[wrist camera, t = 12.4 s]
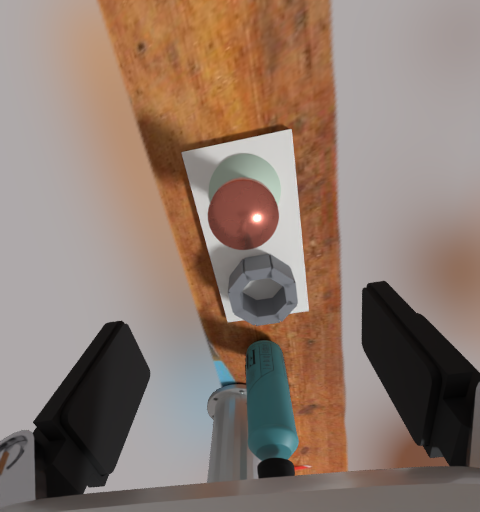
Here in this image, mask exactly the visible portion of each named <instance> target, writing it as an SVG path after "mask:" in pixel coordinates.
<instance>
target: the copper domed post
mask: <svg viewBox="0 0 480 512" xmlns="http://www.w3.org/2000/svg"><path fill="white" fill-rule="evenodd" d="M278 221H279V210H278V206H277V203H276V201H275V198H274V196H273V194H272V193H271V191H270V190H269V189H268V187H267V186H265V185H264V184H263V183H261V182H260V181H258V180H256V179H252V178H248V177H239V178H235V179H231V180H229V181H227V182H225V183H224V184H223V185H221V186H220V187H219V188H218V190H217V191H216V192H215V194H214V196H213V198H212V200H211V202H210V205H209V208H208V223H209V226H210V229H211V231H212V233H213V234H214V236H215V237H216V238H217V239H218V240H219V241H220V242H221V243H222V244H224V245H226V246H228V247H230V248H233V249H237V250H249V249H254V248H257V247H259V246H261V245H263V244H264V243H265V242H267V241H268V240H269V239H270V238H271V237H272V235H273V234H274V232H275V230H276V228H277V225H278Z"/></svg>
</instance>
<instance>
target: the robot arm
mask: <svg viewBox="0 0 480 512" xmlns="http://www.w3.org/2000/svg"><path fill="white" fill-rule="evenodd" d="M362 346H363V349H364V351H365V353H366V355H367V357H368V359H369V361H370V362H371V364H372V366H373V368H374V370H375V371H376V373H377V375H378V377H379V379H380V380H381V382H382V384H383V386H384V387H385V389H386V391H387V393H388V395H389V397H390V398H391V400H392V402H393V404H394V406H395V407H396V409H397V411H398V413H399V415H400V416H401V418H402V420H403V422H404V424H405V425H406V427H407V429H408V431H409V433H410V435H411V436H412V438H413V440H414V441H415V443H416V444H417V445H419V446H422V445H423V447H424V449H425V450H426V452H427V454H428V456H429V457H430V458H435V457H444V458H445V459H446V461H447V463H448V464H449V467H448V466H445V467H443V466H440V467H412V468H394V469H377V470H363V471H349V472H336V473H323V474H311V475H298V476H285V477H273V478H261V479H259V478H258V472H257V466H258V464H259V463H260V462H261V460H260V459H259V458H257V457H256V456H255V455H254V454H253V453H252V452H251V451H250V449H249V447H248V443H247V439H248V421H247V417H246V416H247V404H246V403H247V389H246V388H247V387H246V385H243V384H233V385H227V386H224V387H222V388H219V389H217V390H216V391H215V392H213V393H212V395H211V396H210V398H209V400H208V405H207V410H208V413H209V415H210V417H211V418H212V419H213V420H214V422H213V432H212V441H211V451H210V460H209V470H208V479H207V483H201V484H190V485H178V486H167V487H155V488H146V489H145V488H144V489H134V490H122V491H112V492H100V493H90V494H83V493H84V491H85V489H86V486H88V487H100V486H105V484H106V481H107V478H108V476H109V474H111V473H112V472H113V471H114V469H115V466H116V464H117V461H118V459H119V456H120V453H121V451H122V448H123V446H124V443H125V441H126V438H127V436H128V433H129V430H130V428H131V425H132V423H133V420H134V417H135V415H136V412H137V410H138V407H139V405H140V402H141V399H142V397H143V394H144V392H145V389H146V387H147V384H148V381H149V378H150V370H149V367H148V365H147V363H146V361H145V359H144V357H143V355H142V353H141V351H140V349H139V346H138V344H137V342H136V340H135V338H134V336H133V334H132V332H131V330H130V328H129V326H128V325H127V324H124V322H122V321H116V322H109V323H106V324H105V325H104V326H103V328H102V329H101V330H100V332H99V333H98V334H97V336H96V337H95V339H94V340H93V341H92V343H91V344H90V345H89V347H88V348H87V349H86V351H85V352H84V354H83V355H82V356H81V358H80V359H79V360H78V362H77V363H76V364H75V366H74V367H73V368H72V370H71V371H70V373H69V374H68V375H67V377H66V378H65V379H64V381H63V382H62V384H61V385H60V386H59V388H58V389H57V390H56V392H55V393H54V394H53V396H52V397H51V399H50V400H49V401H48V403H47V404H46V405H45V407H44V408H43V409H42V411H41V412H40V413H39V415H38V416H37V418H36V419H35V420H34V422H33V423H34V424H35V425H36V426H37V428H36V429H35V430H34V432H33V433H32V432H31V431H29V430H22V431H19V432H16V433H13V434H11V435H9V436H8V437H6V438H4V439H3V440H2V441H0V512H480V373H479V372H478V371H477V370H476V369H475V368H474V367H473V365H472V364H471V363H470V362H469V361H468V360H467V359H465V357H464V356H462V354H461V353H460V352H459V351H458V350H457V349H456V348H455V347H454V346H453V345H452V344H451V343H450V342H449V341H448V340H447V339H446V338H445V337H444V336H443V335H442V334H441V333H440V332H439V331H438V330H437V329H436V328H435V327H434V326H433V325H432V324H431V323H430V322H429V321H428V320H427V319H426V318H425V317H424V316H422V315H421V314H418V313H416V312H415V311H414V310H413V309H412V308H411V307H410V306H409V305H408V304H407V303H406V302H405V301H404V300H403V299H402V298H401V297H400V296H399V295H398V294H397V293H396V291H394V290H393V288H392V287H391V286H390V285H389V284H388V283H387V282H385V281H381V282H374V283H368V284H367V288H363V290H362Z"/></svg>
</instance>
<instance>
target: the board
mask: <svg viewBox="0 0 480 512" xmlns="http://www.w3.org/2000/svg"><path fill="white" fill-rule="evenodd" d="M181 153H182V157H183V160H184V164H185V168H186V171H187V175H188V179H189V182H190V186H191V190H192V193H193V197H194V201H195V204H196V208H197V212H198V215H199V219H200V223H201V226H202V230H203V234H204V237H205V241H206V245H207V248H208V252H209V255H210V259H211V263H212V266H213V270H214V274H215V277H216V281H217V285H218V288H219V292H220V296H221V299H222V303H223V307H224V310H225V314H226V318H227V321H228V322H234V321H241V320H245V321H247V322H249V323H251V324H252V325H255V324H256V326H258V325H265V324H273V323H280V321H283V320H284V319H285V318H286V317H287V316H288V315H289V314H290V313H297V312H304V311H309V307H308V297H307V286H306V275H305V265H304V254H303V244H302V233H301V223H300V212H299V201H298V191H297V180H296V170H295V159H294V148H293V138H292V129H288V130H283V131H279V132H274V133H269V134H264V135H260V136H255V137H250V138H246V139H241V140H236V141H231V142H227V143H222V144H217V145H213V146H208V147H203V148H199V149H194V150H189V151H184V152H181ZM239 177H248V178H252V179H256V180H258V181H260V182H261V183H263V184H264V185H265V186H267V187H268V189H269V190H270V191H271V193H272V194H273V196H274V198H275V201H276V203H277V206H278V210H279V221H278V225H277V228H276V230H275V232H274V234H273V235H272V237H271V238H270V239H269V240H268V241H267V242H265V243H264V244H263V245H261V246H259V247H257V248H254V249H249V250H237V249H233V248H230V247H228V246H226V245H224V244H222V243H221V242H220V241H219V240H218V239H217V238H216V237H215V236H214V234H213V233H212V231H211V229H210V226H209V223H208V208H209V205H210V202H211V200H212V198H213V196H214V194H215V192H216V191H217V190H218V188H219V187H220V186H221V185H223V184H224V183H225V182H227V181H229V180H231V179H235V178H239Z"/></svg>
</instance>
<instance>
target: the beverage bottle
mask: <svg viewBox="0 0 480 512" xmlns="http://www.w3.org/2000/svg"><path fill="white" fill-rule="evenodd" d="M284 360H285V359H283V352H282V350H281V349H280V347H279V346H278V345H277V344H276V343H274V342H272V341H268V340H261V341H257V342H255V343H253V344H251V345H250V346H249V348H248V349H247V351H246V359H245V362H246V364H245V375H246V379H245V380H246V387H247V388H246V389H247V403H246V404H247V416H246V417H247V421H248V439H247V443H248V447H249V449H250V451H251V452H252V453H253V454H254V455H255V456H256V457H257V458H259V459H260V460H261V462H260V463H259V464H258V466H257V472H258V478H259V479H261V478H273V477H285V476H295V470H294V465H293V463H292V462H291V461H289V460H287V459H289V457H290V456H291V455H292V454H293V453H294V452H295V450H296V449H297V447H298V443H299V441H298V436H297V432H296V427H295V421H294V415H293V410H292V404H291V399H290V397H291V396H290V392H291V391H290V392H289V386H290V385H288V383H289V382H288V380H287V375H286V371H287V370H286V369H285V363H284V362H285V361H284Z"/></svg>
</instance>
